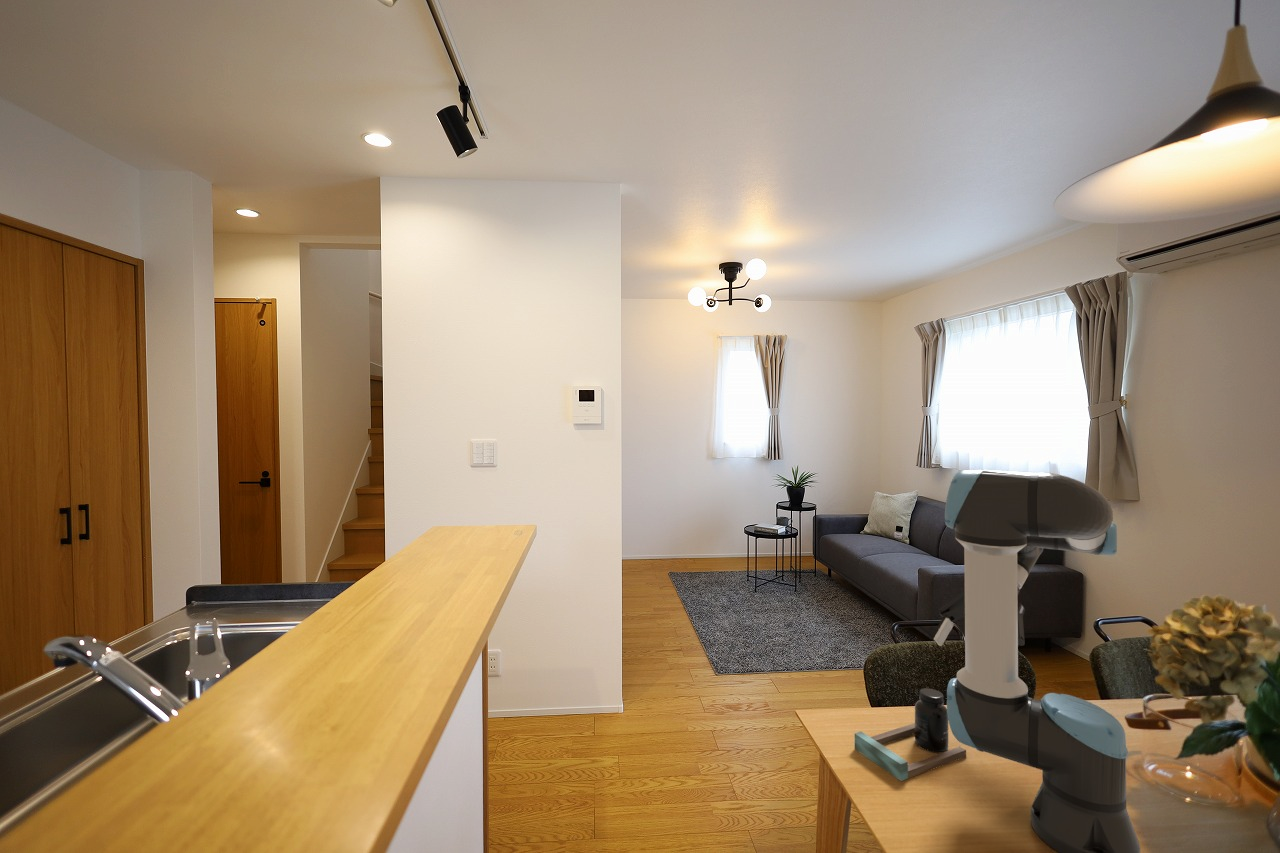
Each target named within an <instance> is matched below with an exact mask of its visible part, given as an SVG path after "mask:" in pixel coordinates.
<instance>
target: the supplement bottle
mask: <svg viewBox="0 0 1280 853" xmlns="http://www.w3.org/2000/svg"><path fill="white" fill-rule="evenodd" d="M918 698H919V700H917V701H916V703H915V705H914V723H915V734H914V741H915V743H916V744H917V746H919V747H920V748H921V749H923V750H925V751H927V752H930V753H936V754H940V753H943V752H945V751H948V749H949V720H948V714H947V706H945V704H944V694H943V693H942V692H941V691H939V690H936V689H933V688H928V687H927V688H921V689H920V690H919V697H918Z"/></svg>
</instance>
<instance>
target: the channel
mask: <svg viewBox="0 0 1280 853" xmlns="http://www.w3.org/2000/svg"><path fill="white" fill-rule="evenodd" d="M913 735H914V736H915V722H913V723H911V724H907V725H904V726H900V727H898V728H895V729H892V730H888V731H886V732H883V733H879V734H875V735H873V736H869V735H867V734H866V733H864V732H863V731H858V732H855V733H854V750H856V751H857V752H858V753H860V754H862V755H863V756H864V757H866V758H867V759H868V760H870V761H871V762H873V763H874V764H876V765H877V766H878V767H880V768H881V769H883V770H884V769H885V770H884V771H885V772H887V773H888V772H889V773H888V774H890V775H891V776H893V777H894V778H895V779H897V780H899V781H900V782H902V781H906V780H907V779H910V777H911V778H913V777H916V776H919V775H920V774H923V773H927V772H928V770H929V771H931V769H932V770H934V769H933V768H935V769H937V768H939V766H940V767H942V765H943V766H945V765H948V764H950V762H951V763H953V762H956V761H958V759H959V760H961V759H963V758H967V749H965V748H963V747H962V746H961V745H960V746H957V747H954V748H951V749H949V750H948V749H947V751H945V752H942V753H936V754H935V755H932V756H929V757H926V758H923V759H921V760H919V761H918V760H917V761H915V762H912V763H909V762H908V760H906V759H904V758H903V757H901V756H899V755H898V753H897V754H896V753H895V752H894V751H892V750H890V749H889V748H887V747H886V746H885V745H886V744H889V743H892V742H896V741H898V740H901V738H902V739H904V737H905V738H907V736H908V737H911V736H913ZM955 760H956V761H955ZM936 767H937V768H936ZM926 771H927V772H926Z"/></svg>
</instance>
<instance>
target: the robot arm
mask: <svg viewBox="0 0 1280 853" xmlns="http://www.w3.org/2000/svg"><path fill="white" fill-rule="evenodd" d="M945 501H946V502H945V509H944V522H945V526H946V527H947V528H950V529H951V530H954V538H955V540H956V541H957V542H958V543H959V544H960V545H961V546H962V547H963V548H964V550H963V552H964V562H963V563H964V564H963V565H964V589H963V590H962V592H961V593H959V595H957V596H955V597H954V598H952V599H951V600H950V601H948V602H947V603H946V604H944V605H943V606H942V607H939V609H938V610H937V612H938V613H939V615H940V616H941V618H942V619H941V620H940V622H939V624H938V625H937V629H938V631H937V632H936V634H935V636H934V637H933V640H934V642H936V644H937V645H938V646H939V647H943V644H944V643H945V641H946V639H947V638H948V635H949V634H950V633H951V631H952V629H953V627H954V625H955V624H954V623H953V622H956V621H957V620H961V619H962V618H964V650H965V651H964V652H965V653H964V656H965V660H964V662H965V666H964V667H961V669H959V670H958V671H957V672H956V677H953V678H950V680H949V681H948V684H947V688H946V697H947V699H946V708H947V714H948V726H949V728H950V731H951V733H952V735H953V736H954V738H955V739H956V740H957V742H958V743H960V744H962V745H965V746H968V747H970V748H973V749H976V750H977V751H979V752H982V753H988V754H990V755H994V756H997V757H1001V758H1003V759H1007V760H1009V761H1013V762H1016V763H1019V764H1021V765H1024V766H1029V767H1031V768H1035V769H1037V770H1040V771H1042V774H1041V776H1042V781H1041V784H1040V786H1039V788H1038V791H1037V793H1036V795H1035V798H1034V800H1033V802H1032V804H1031V808H1030V824H1031V827H1032V828H1033V831H1034V832H1035V834H1036V836H1038V837H1039V838H1040V839H1041V840H1042V842H1044V843H1045V844H1046V845H1047V846H1048V847H1050V848H1051V849H1053V850H1054V851H1055V852H1057V853H1141V845H1140V842H1139V838H1138V836H1137V833H1136V831H1135V830H1136V829H1134V828H1135V827H1134V825H1133V823H1132V820H1131V818H1130V813H1129V812H1128V808H1127V758H1128V756H1129V751H1128V748H1127V740H1126V739H1127V738H1126V737H1127V736H1126V731H1125V729H1124V726H1123V725H1122V723H1121V722H1120V721H1119V720H1118V719H1117V718H1116V717H1115V716H1114V715H1113V714H1111V713H1109V711H1106V709H1104V708H1102V707H1101V706H1098V705H1097V704H1094V703H1092V702H1091V701H1089V700H1085V699H1083V698H1081V697H1078V696H1077V697H1076V696H1074V695H1070V694H1066V693H1056V692H1050V693H1046V694H1044V695H1043V696H1042V698H1041V699H1037V698H1032V697H1029V694H1028V693H1029V688H1028V685H1027V684H1026V683H1025V682H1024V681H1023V679H1021V678H1020V677H1019V649H1018V647H1019V646H1020V647H1021V646H1022V647H1023V646H1025V630H1024V614H1025V611H1026V609H1025V607H1024V605H1022V603H1021V602H1019V601H1018V595H1019V594H1020V590H1021V589H1022V587H1023V585H1024V584H1025V582H1026V580H1027V578H1028V577H1029V575H1030V573H1031V571H1032V569H1033V568H1034V566H1035V564H1036V563H1037V561H1038V559H1039V557H1040V555H1042V553H1043V552H1044V549H1047V550H1055V551H1056V550H1059V551H1068V552H1076V553H1082V554H1091V555H1096V556H1115V555H1116V554H1117V553H1118V552H1117V549H1118V546H1117V543H1118V538H1117V537H1118V536H1117V535H1118V533H1117V530H1118V529H1117V525H1116V523H1115V522H1113V519H1114V512H1113V507H1112V505H1111V503H1110V502H1109V500H1108V499H1107V498H1106V496H1105V495H1103V494H1102V493H1101V492H1100V491H1098V490H1097V489H1095V488H1094V487H1092V486H1090V485H1088V484H1087V483H1084V482H1082V481H1080V480H1078V479H1075V478H1073V477H1069V476H1066V475H1062V474H1058V473H1051V472H1035V471H1034V472H1032V471H1029V472H1028V471H1014V470H1012V471H1011V470H995V469H994V470H992V469H964V470H960V471H958V472H956V474H954V476H953V477H952V479H951V481H950V484H949V488H948V491H947V495H946V500H945Z"/></svg>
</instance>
